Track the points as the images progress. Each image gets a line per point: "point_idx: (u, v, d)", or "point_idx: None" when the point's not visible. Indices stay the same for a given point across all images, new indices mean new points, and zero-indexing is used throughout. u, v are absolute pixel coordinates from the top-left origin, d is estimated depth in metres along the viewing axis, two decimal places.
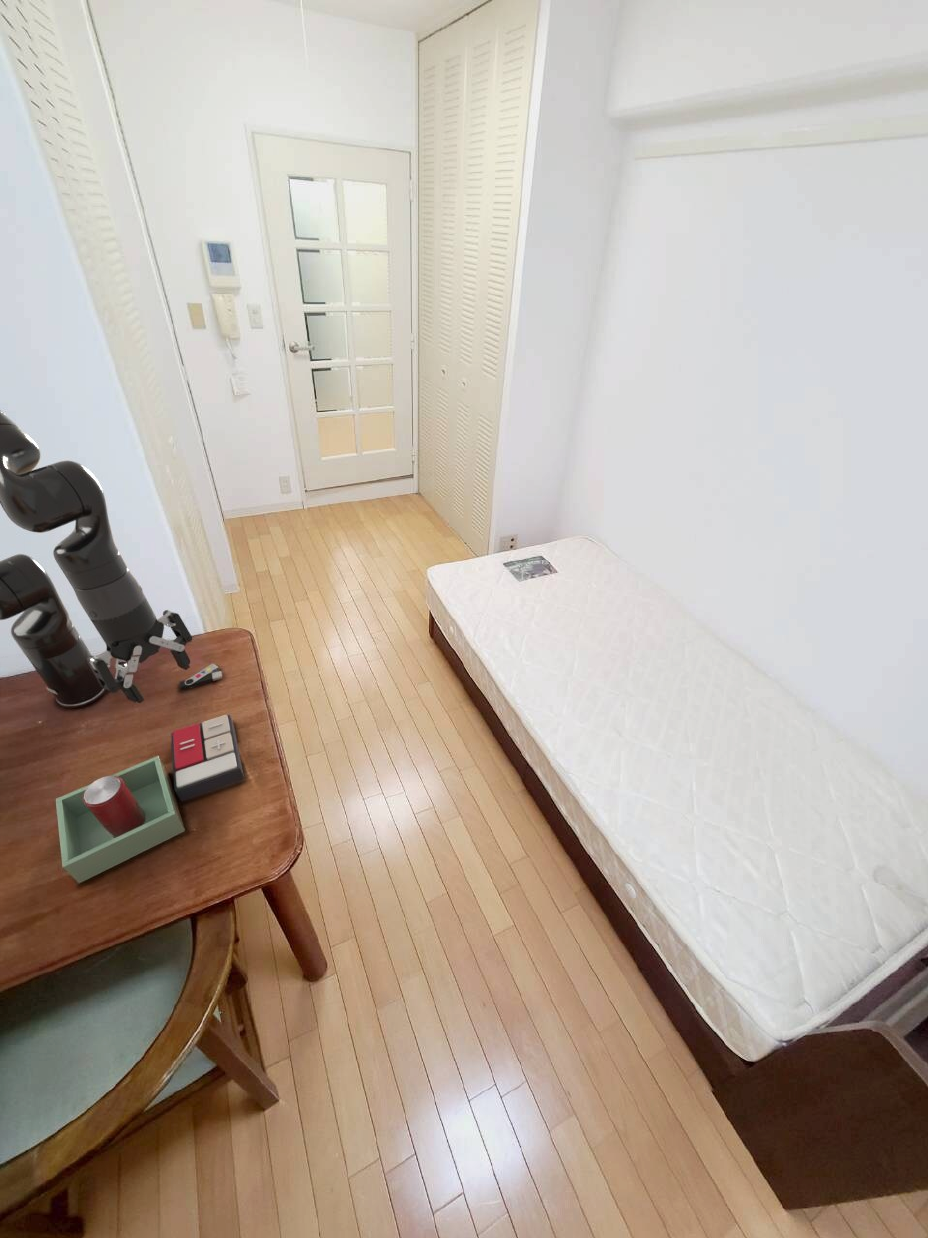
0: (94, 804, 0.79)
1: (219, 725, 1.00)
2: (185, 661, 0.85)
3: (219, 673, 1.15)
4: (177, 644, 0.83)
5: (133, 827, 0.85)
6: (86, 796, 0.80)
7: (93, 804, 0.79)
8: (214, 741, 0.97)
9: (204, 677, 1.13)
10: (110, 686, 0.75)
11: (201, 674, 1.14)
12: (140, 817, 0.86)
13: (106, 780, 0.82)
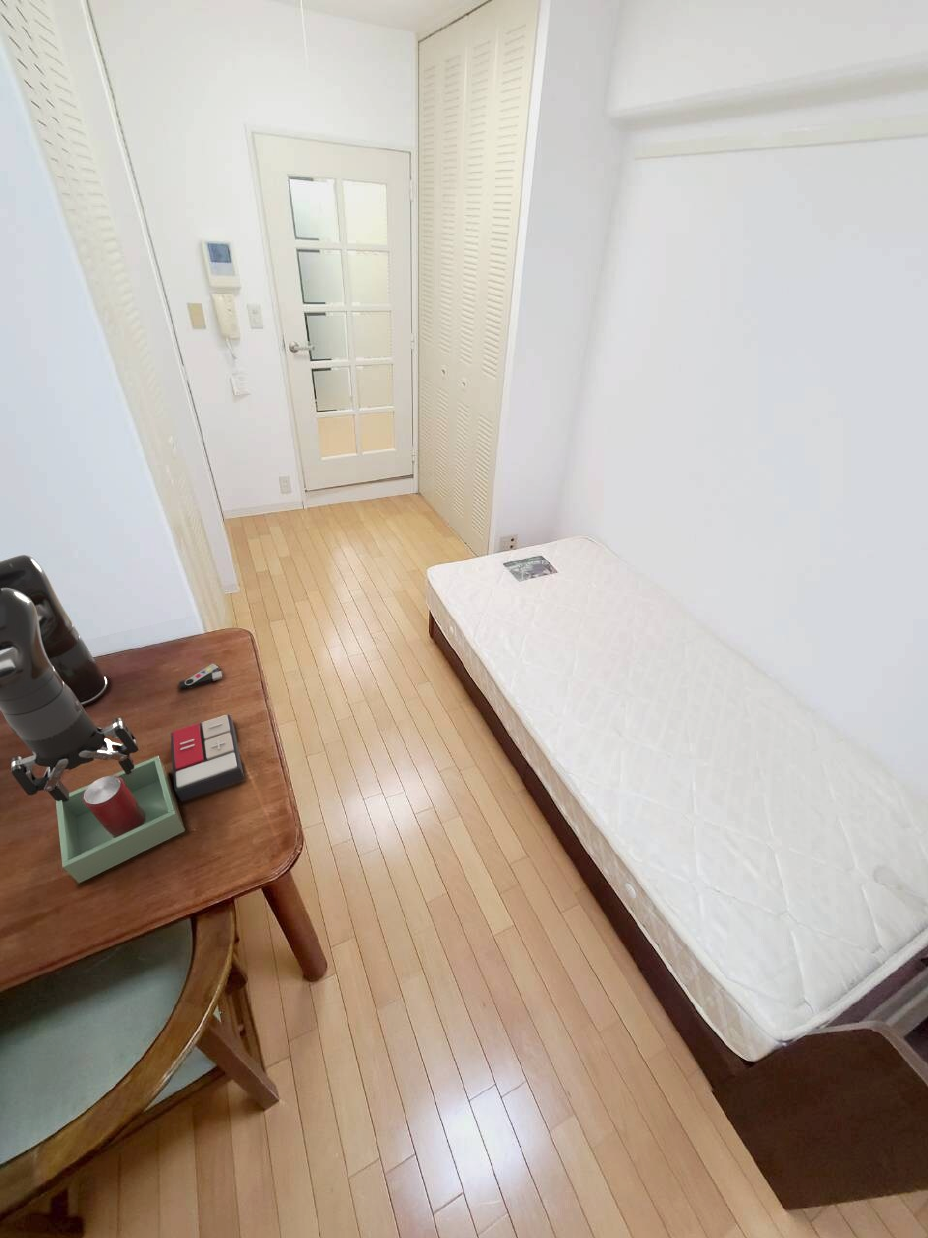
0: (94, 804, 0.79)
1: (219, 725, 1.00)
2: (126, 768, 0.80)
3: (219, 673, 1.15)
4: (118, 755, 0.77)
5: (133, 827, 0.85)
6: (86, 796, 0.80)
7: (93, 804, 0.79)
8: (214, 741, 0.97)
9: (204, 677, 1.13)
10: (27, 790, 0.72)
11: (201, 674, 1.14)
12: (140, 817, 0.86)
13: (106, 780, 0.82)
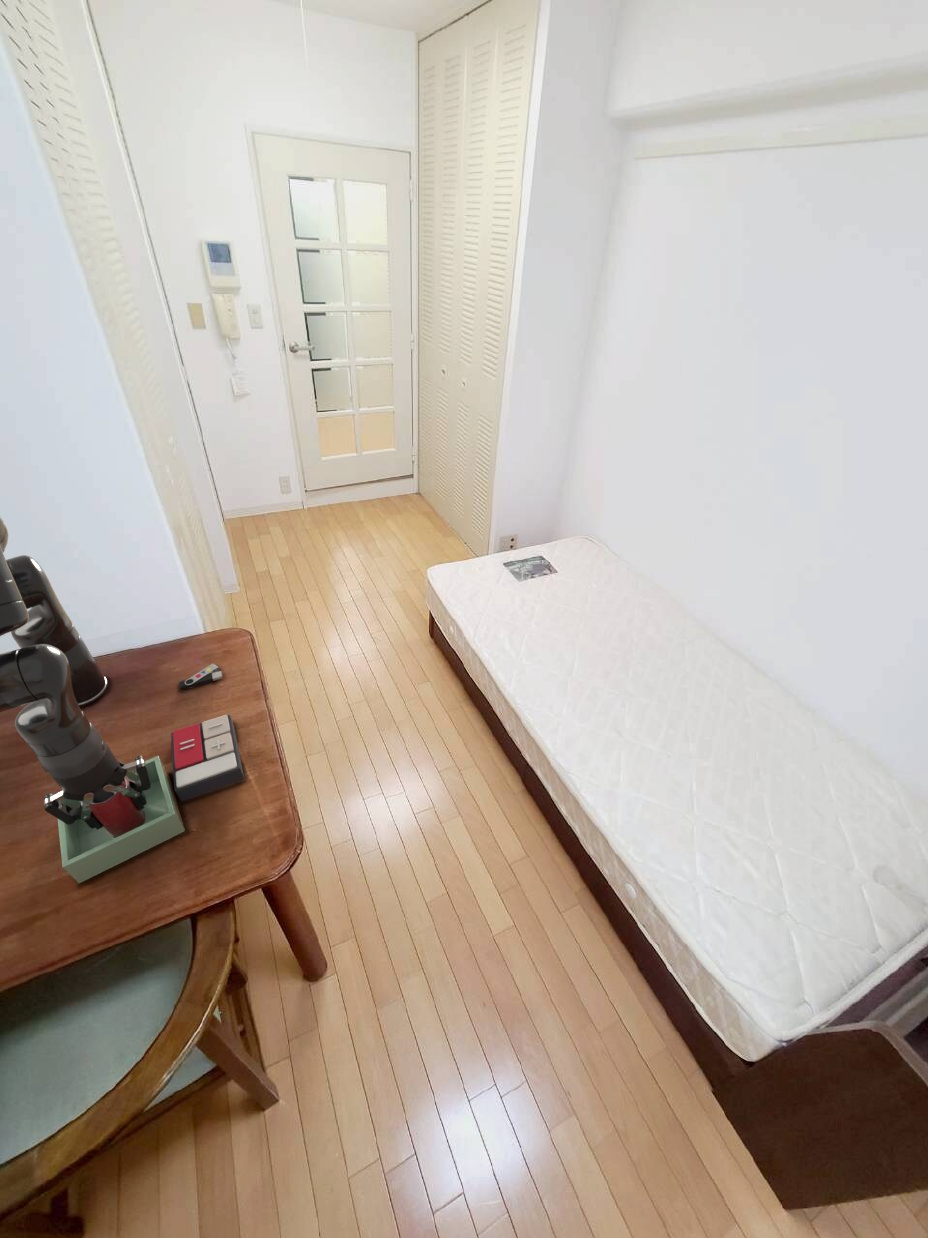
0: (94, 804, 0.79)
1: (219, 725, 1.00)
2: (139, 804, 0.85)
3: (219, 673, 1.15)
4: (133, 792, 0.83)
5: (133, 827, 0.85)
6: None
7: (93, 804, 0.79)
8: (214, 741, 0.97)
9: (204, 677, 1.13)
10: (66, 820, 0.78)
11: (201, 674, 1.14)
12: (140, 817, 0.86)
13: None
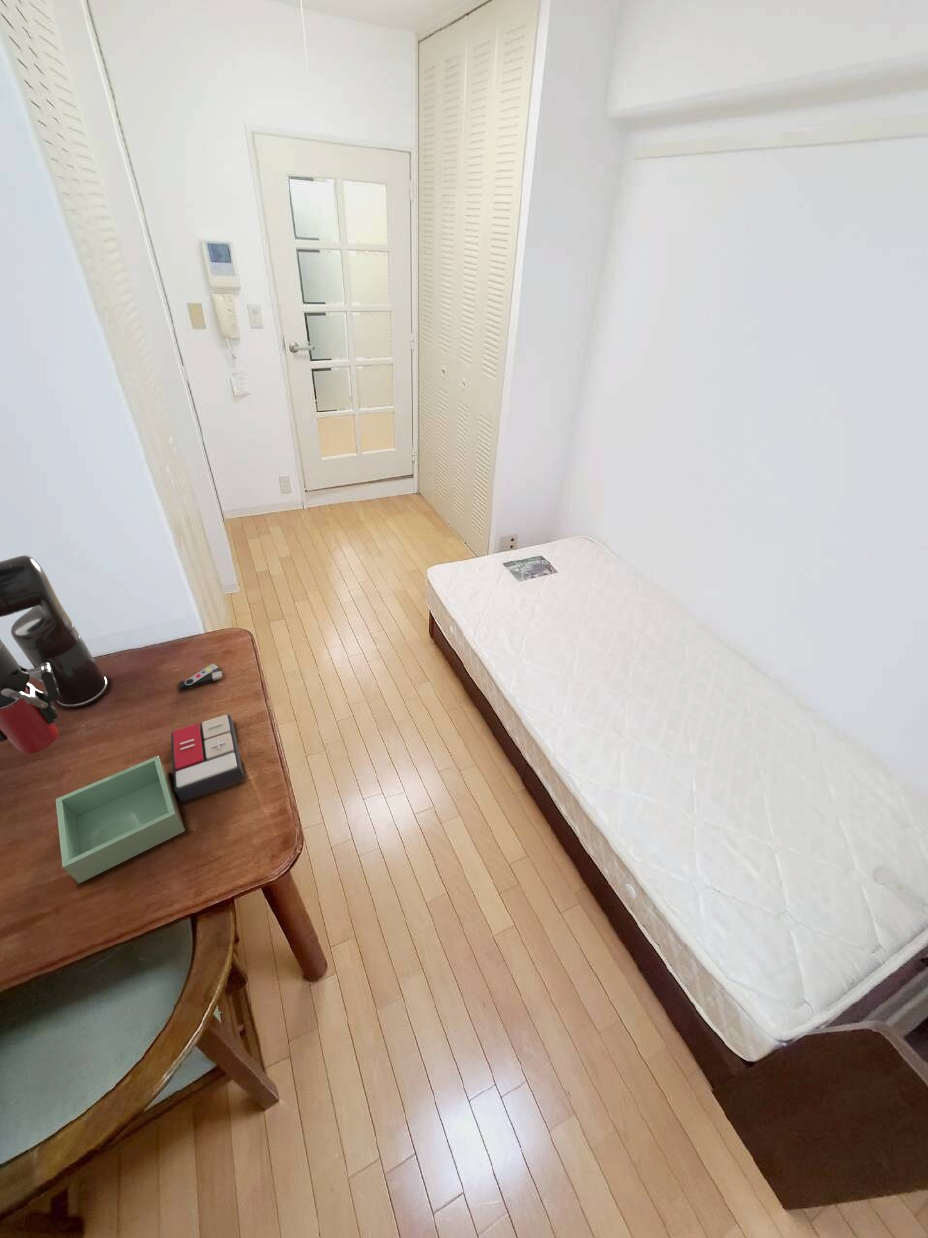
0: None
1: (219, 725, 1.00)
2: (48, 717, 0.80)
3: (219, 673, 1.15)
4: (39, 701, 0.77)
5: (42, 741, 0.80)
6: None
7: None
8: (214, 741, 0.97)
9: (204, 677, 1.13)
10: None
11: (201, 674, 1.14)
12: (50, 732, 0.81)
13: None
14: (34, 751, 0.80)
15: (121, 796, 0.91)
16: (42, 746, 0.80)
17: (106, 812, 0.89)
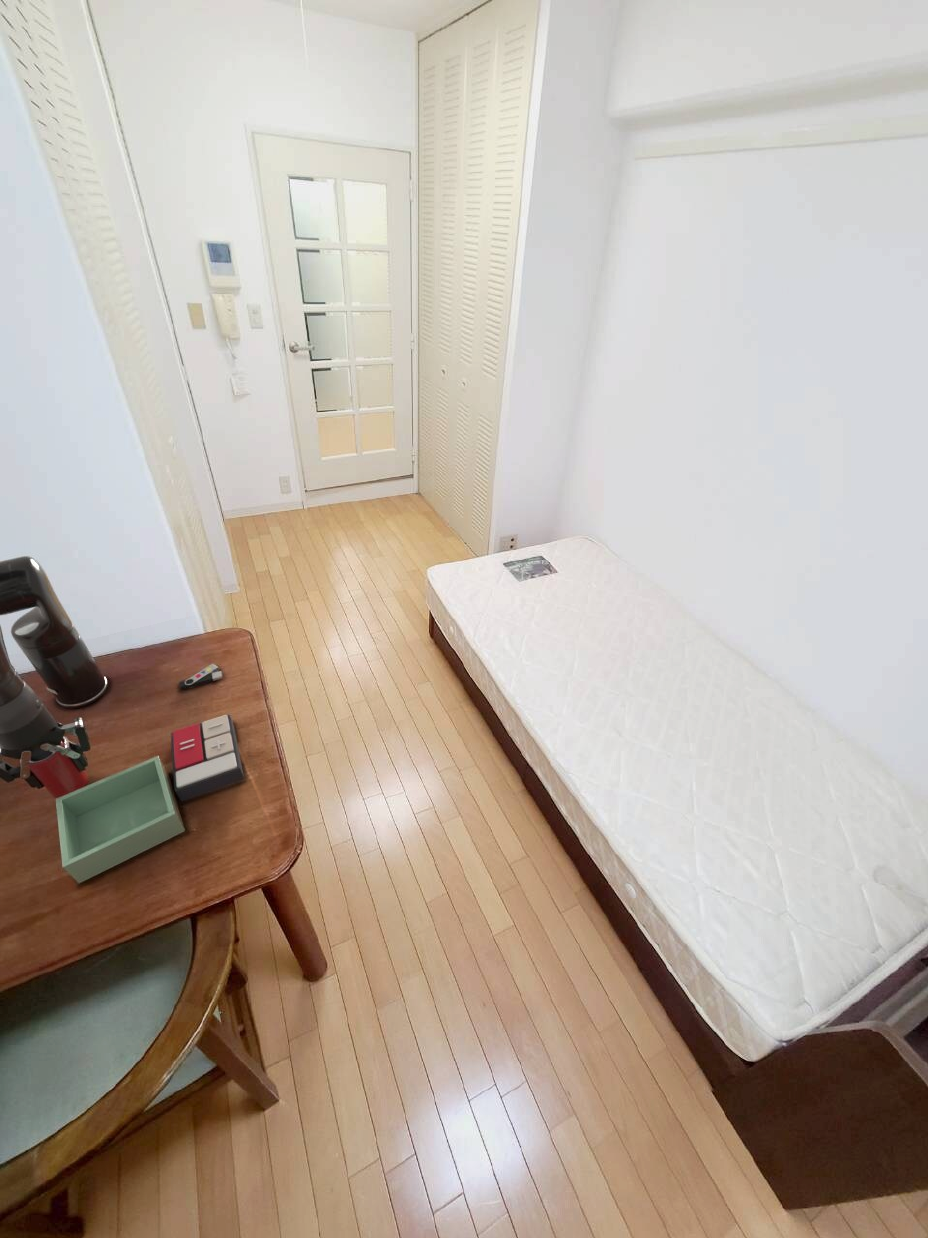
0: (32, 762, 0.82)
1: (219, 725, 1.00)
2: (80, 765, 0.89)
3: (219, 673, 1.15)
4: (73, 752, 0.86)
5: (74, 788, 0.89)
6: None
7: (31, 762, 0.82)
8: (214, 741, 0.97)
9: (204, 677, 1.13)
10: (5, 777, 0.82)
11: (201, 674, 1.14)
12: (82, 778, 0.90)
13: None
14: None
15: (121, 796, 0.91)
16: None
17: (106, 812, 0.89)
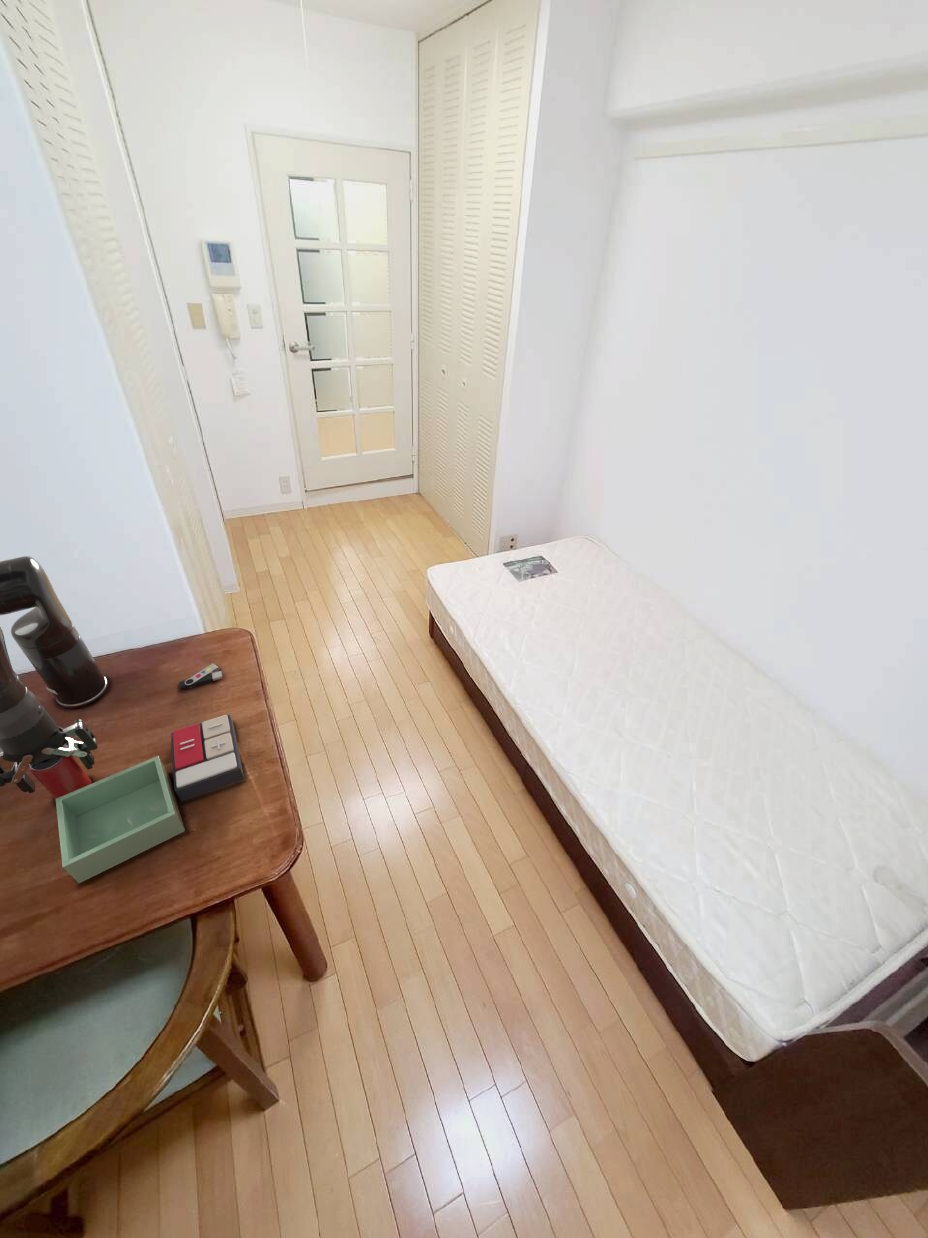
0: (38, 770, 0.84)
1: (219, 725, 1.00)
2: (87, 764, 0.90)
3: (219, 673, 1.15)
4: (78, 751, 0.87)
5: None
6: None
7: (37, 770, 0.84)
8: (214, 741, 0.97)
9: (204, 677, 1.13)
10: None
11: (201, 674, 1.14)
12: (87, 785, 0.91)
13: None
14: None
15: (121, 796, 0.91)
16: None
17: (106, 812, 0.89)
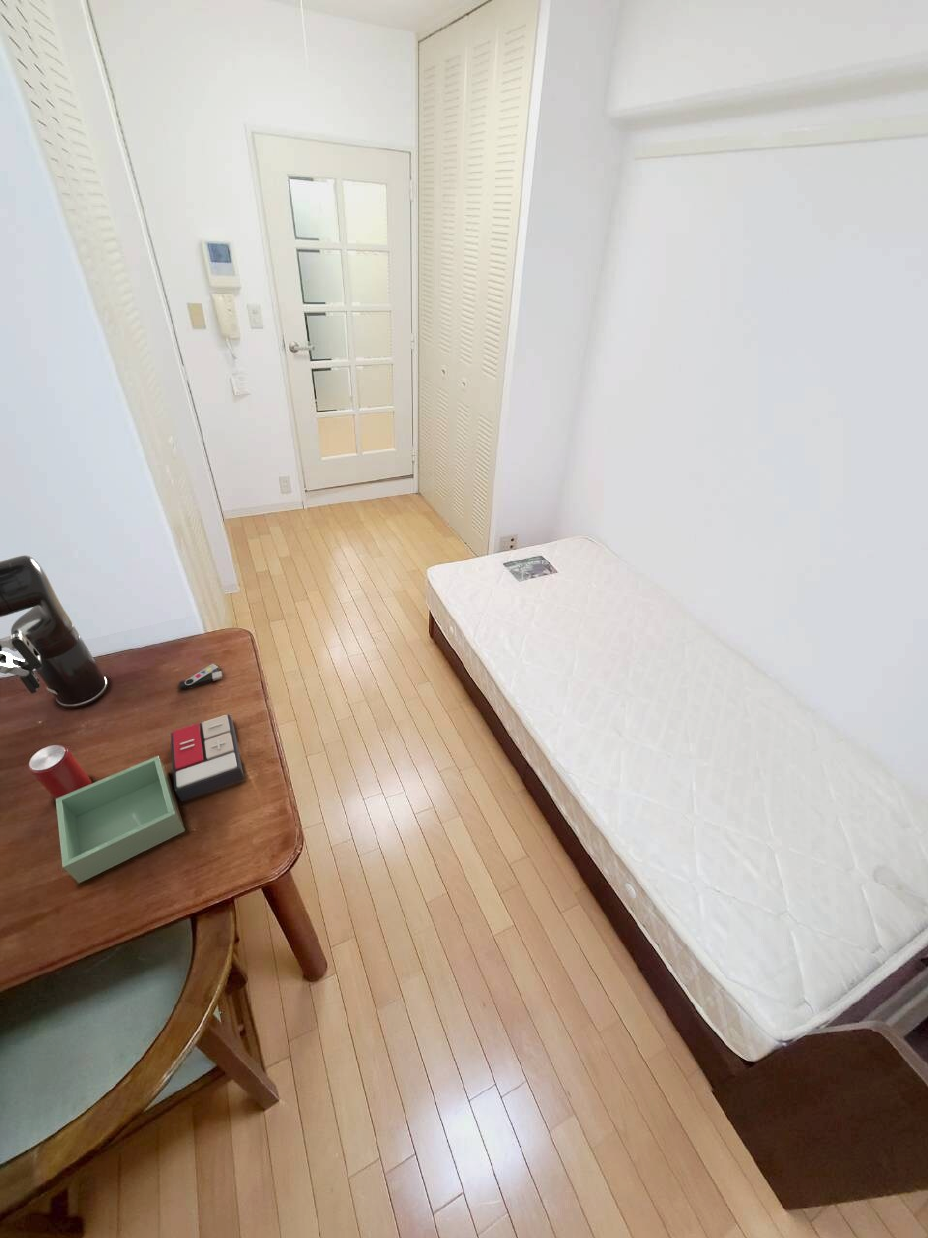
0: (38, 770, 0.84)
1: (219, 725, 1.00)
2: (30, 686, 0.76)
3: (219, 673, 1.15)
4: (18, 669, 0.74)
5: None
6: (31, 763, 0.84)
7: (37, 770, 0.84)
8: (214, 741, 0.97)
9: (204, 677, 1.13)
10: None
11: (201, 674, 1.14)
12: (87, 785, 0.91)
13: (51, 749, 0.87)
14: None
15: (121, 796, 0.91)
16: None
17: (106, 812, 0.89)
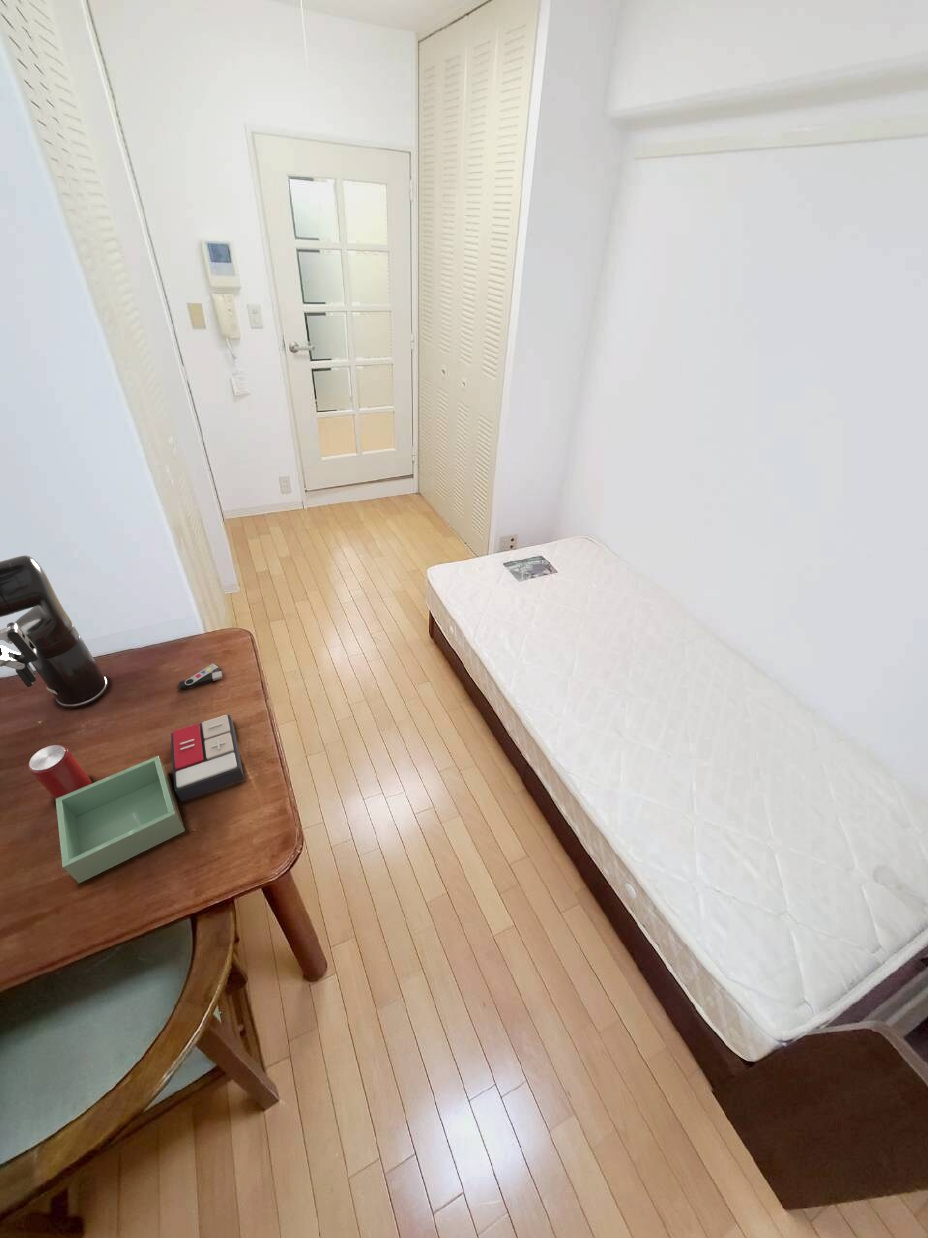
0: (38, 770, 0.84)
1: (219, 725, 1.00)
2: (25, 679, 0.76)
3: (219, 673, 1.15)
4: (13, 662, 0.73)
5: None
6: (31, 763, 0.84)
7: (37, 770, 0.84)
8: (214, 741, 0.97)
9: (204, 677, 1.13)
10: None
11: (201, 674, 1.14)
12: (87, 785, 0.91)
13: (51, 749, 0.87)
14: None
15: (121, 796, 0.91)
16: None
17: (106, 812, 0.89)
